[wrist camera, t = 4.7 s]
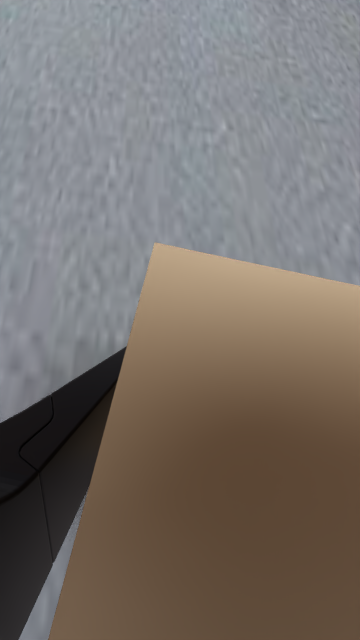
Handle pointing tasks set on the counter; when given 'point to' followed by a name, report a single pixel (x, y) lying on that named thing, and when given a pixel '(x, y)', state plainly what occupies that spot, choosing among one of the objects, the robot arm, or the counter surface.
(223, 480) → the pin
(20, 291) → the counter surface
